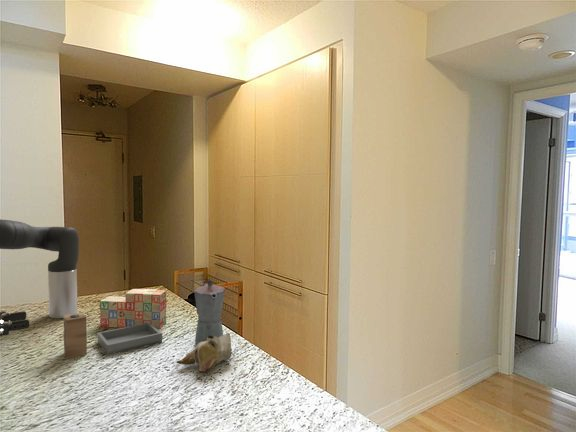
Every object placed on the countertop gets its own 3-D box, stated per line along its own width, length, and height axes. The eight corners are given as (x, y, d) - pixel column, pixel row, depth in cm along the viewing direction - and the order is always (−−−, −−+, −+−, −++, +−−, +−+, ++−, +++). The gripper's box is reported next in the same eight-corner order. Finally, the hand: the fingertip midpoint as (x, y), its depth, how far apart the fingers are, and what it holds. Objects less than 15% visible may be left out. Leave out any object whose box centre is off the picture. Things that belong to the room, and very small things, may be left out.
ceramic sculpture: (242, 331, 109) (198, 351, 97) (243, 361, 110) (200, 384, 98) (216, 323, 116) (173, 341, 104) (218, 351, 116) (175, 371, 105)
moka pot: (199, 353, 114) (200, 287, 113) (187, 336, 128) (187, 276, 127) (230, 348, 119) (231, 283, 117) (215, 331, 132) (216, 273, 131)
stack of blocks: (99, 327, 135) (99, 292, 134) (108, 321, 141) (108, 287, 140) (160, 329, 134) (160, 294, 133) (166, 322, 140) (166, 289, 139)
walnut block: (64, 352, 114) (63, 315, 113) (83, 348, 117) (82, 312, 116) (67, 358, 110) (66, 319, 109) (86, 354, 113) (86, 316, 112)
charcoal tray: (97, 342, 121) (97, 332, 121) (148, 331, 131) (148, 322, 131) (107, 355, 112) (107, 345, 112) (162, 342, 122) (162, 333, 122)
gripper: (-55, 324, 89) (30, 312, 99) (-51, 309, 100) (25, 299, 110) (-54, 356, 90) (30, 340, 100) (-50, 337, 101) (25, 325, 111)
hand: (27, 319), depth 105 cm, fingers open, 8 cm apart
